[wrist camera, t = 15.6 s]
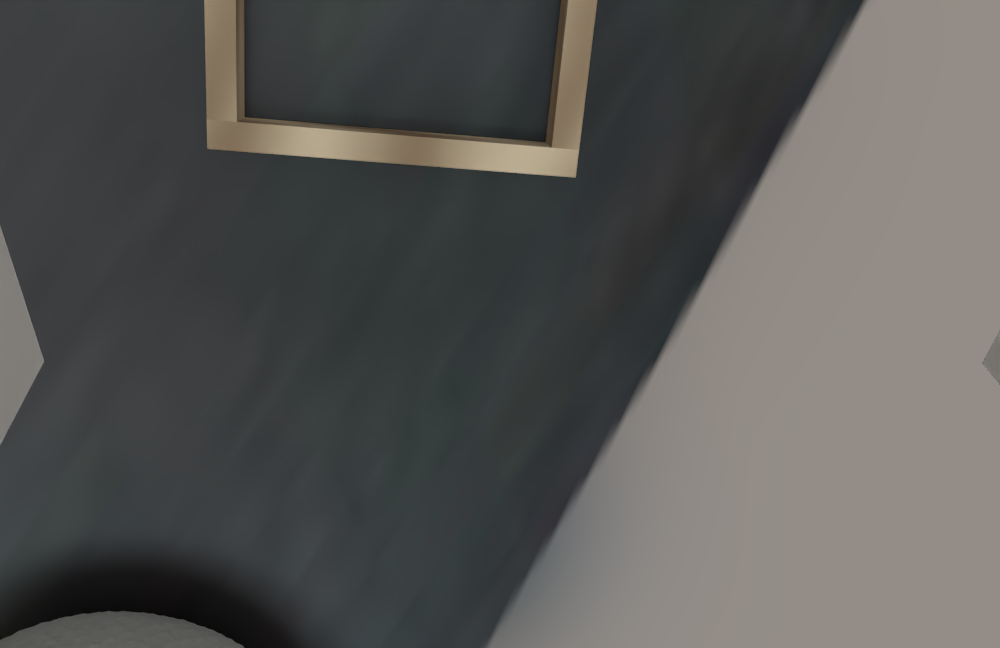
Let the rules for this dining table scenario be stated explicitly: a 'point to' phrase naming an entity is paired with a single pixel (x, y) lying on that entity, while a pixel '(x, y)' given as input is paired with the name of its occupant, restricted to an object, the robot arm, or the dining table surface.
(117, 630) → the cereal bowl
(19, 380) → the robot arm
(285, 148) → the tan flat square frame
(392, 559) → the dining table surface
